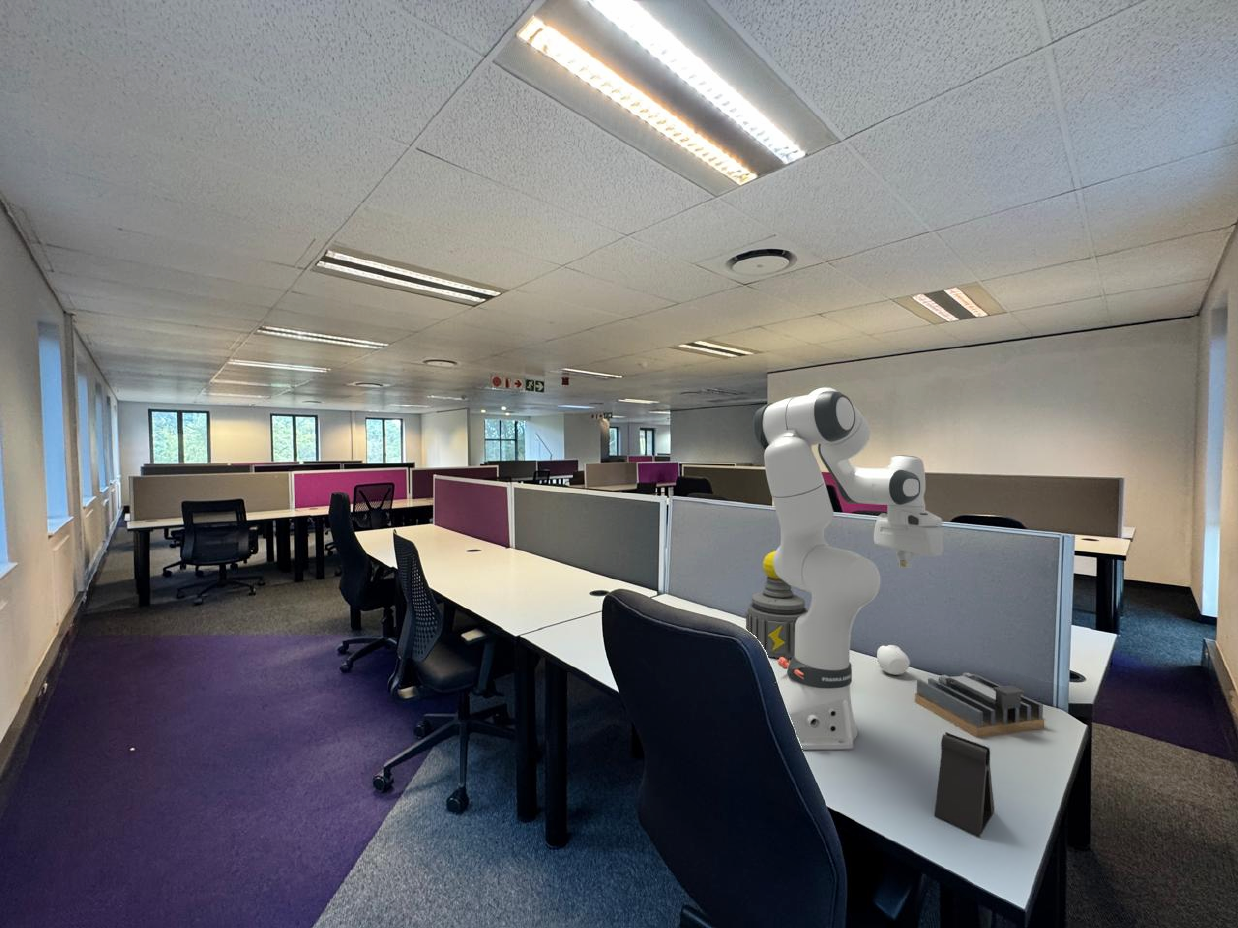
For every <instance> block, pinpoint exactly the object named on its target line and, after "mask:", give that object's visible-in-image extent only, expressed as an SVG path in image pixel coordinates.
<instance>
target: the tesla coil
mask: <svg viewBox="0 0 1238 928" xmlns="http://www.w3.org/2000/svg"><path fill="white" fill-rule="evenodd" d="M775 552H776V550H773V551H772V552H769V553H768V554H767V555H765V557H764V559H763V562H762V569H763V571H764V573H765V575H766V582H765V584H764V588H763V590H762V591H759V592H756V593H754V594H753V595H752V596H751V602H750V604H748V608H747V610H746V614H745V630H746V629H747V630H748V631H749V632H751V633H752V634H753V635H755V636H756V637H757V639H758V640H759V641H760V642H761V644H762V645H763V647H764V649H765V650H766V652H767V655H768V658H772V657H775V658H774V659H777V658H780V657H784V658H785V659H786V660H791V659H792V657H793V655H794V654H795V631H794V630H793V626H794V622H795V620H797V619H798V618H799V617H800V616H801V615H803V614H805V613H807V612H808V611H809V609H807V608H806V601H805V600H804V598H802V597H801V596H798V595H797V594H794V591H793V590H792V588H793V587H792V586H790V585H789V584H787V583H786V582H785V581H783V580H782V579H781V578H779V577H778V576H777V574H776V573H775V570H774V567H773V558H774V554H775Z"/></svg>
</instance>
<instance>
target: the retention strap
mask: <svg viewBox="0 0 1238 928" xmlns="http://www.w3.org/2000/svg"><path fill="white" fill-rule="evenodd" d="M951 682H952V683H954V684H956V685H958V686H960V687H962V688H964V689H966V690H968V691H970V692H972V693H974V694H976V695H978V696H980V697H982V698H984V699H986V700H988V701H990V702H992V703H994V704H996V691H994V690H993V689H990V688H988V687H986V686H984V685H982V684H980V683H978V682H976V681H974V680H972V679H970V678H968V677H966V676H961V675H959V676H954V677H951Z"/></svg>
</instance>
